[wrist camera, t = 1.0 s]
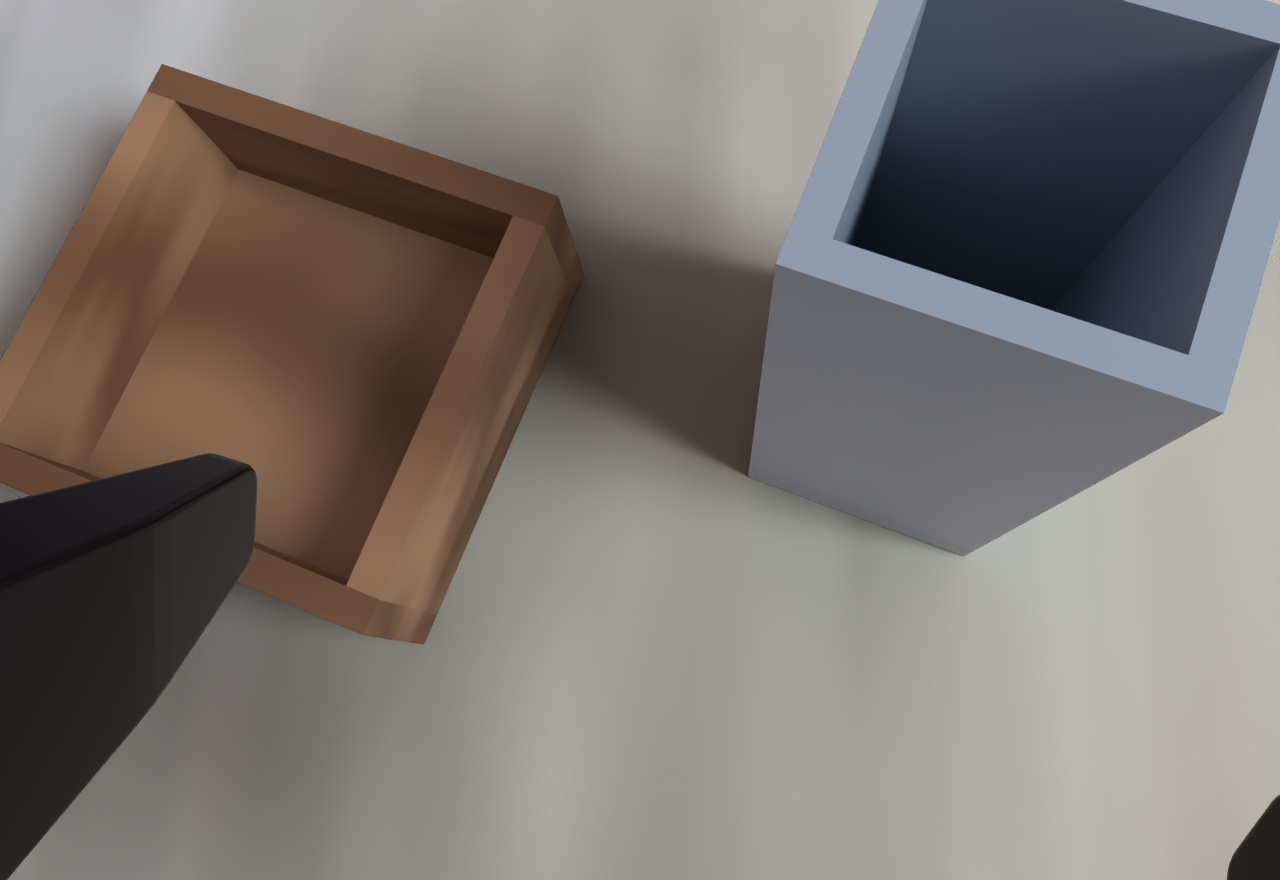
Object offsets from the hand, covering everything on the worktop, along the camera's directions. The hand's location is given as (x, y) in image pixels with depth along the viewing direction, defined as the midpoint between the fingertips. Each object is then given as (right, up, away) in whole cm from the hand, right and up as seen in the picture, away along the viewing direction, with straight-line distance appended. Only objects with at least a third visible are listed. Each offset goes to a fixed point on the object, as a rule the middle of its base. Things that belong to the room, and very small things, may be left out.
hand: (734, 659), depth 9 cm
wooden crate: (-8, +3, +16) cm, 18 cm away
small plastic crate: (+5, +2, +15) cm, 16 cm away
